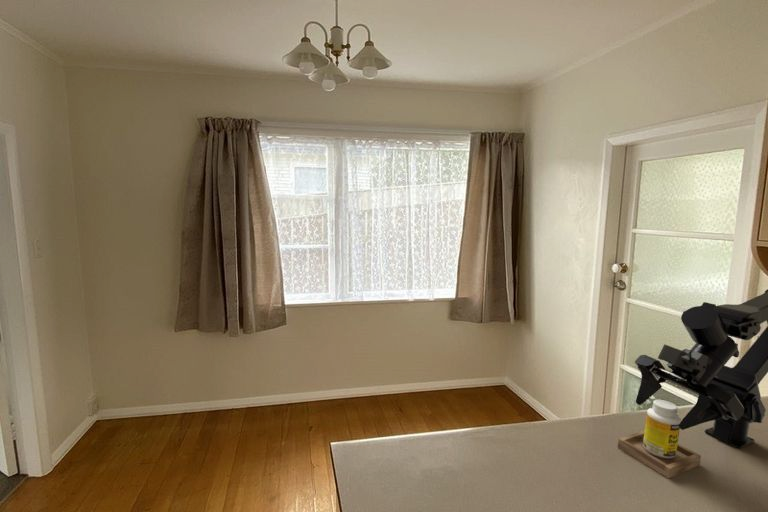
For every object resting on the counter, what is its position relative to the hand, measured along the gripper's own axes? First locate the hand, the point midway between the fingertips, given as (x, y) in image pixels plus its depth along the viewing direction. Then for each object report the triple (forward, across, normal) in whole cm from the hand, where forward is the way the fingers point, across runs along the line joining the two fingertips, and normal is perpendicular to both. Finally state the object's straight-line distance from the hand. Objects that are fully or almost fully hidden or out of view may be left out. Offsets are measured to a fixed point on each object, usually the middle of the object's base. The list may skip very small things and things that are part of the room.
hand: (657, 415), depth 78 cm
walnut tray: (+5, 0, +7) cm, 9 cm away
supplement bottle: (+5, 0, +7) cm, 8 cm away
